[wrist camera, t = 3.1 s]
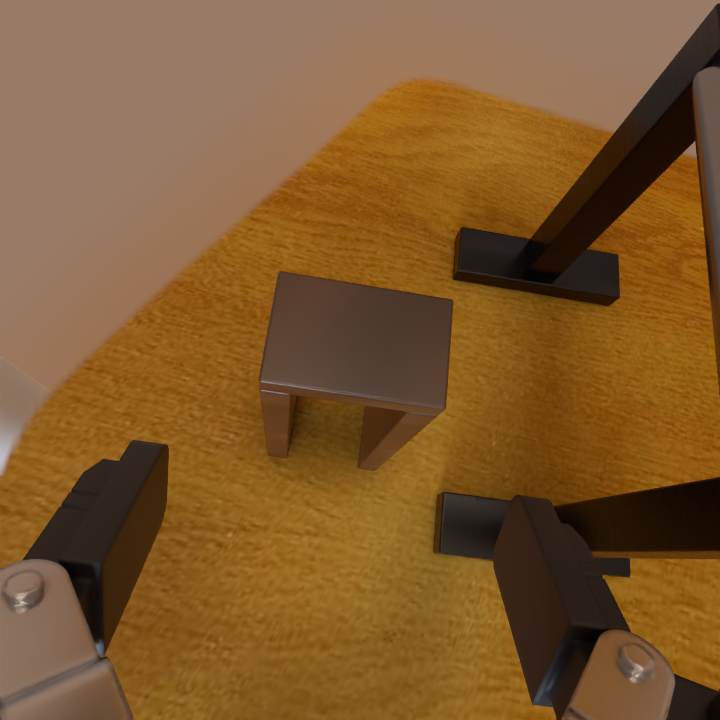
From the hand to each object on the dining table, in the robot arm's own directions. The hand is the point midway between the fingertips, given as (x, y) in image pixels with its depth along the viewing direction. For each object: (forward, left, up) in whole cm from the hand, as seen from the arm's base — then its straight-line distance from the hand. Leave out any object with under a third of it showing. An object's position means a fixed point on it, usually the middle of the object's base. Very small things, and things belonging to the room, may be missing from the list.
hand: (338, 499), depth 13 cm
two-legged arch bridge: (0, +4, -11) cm, 11 cm away
